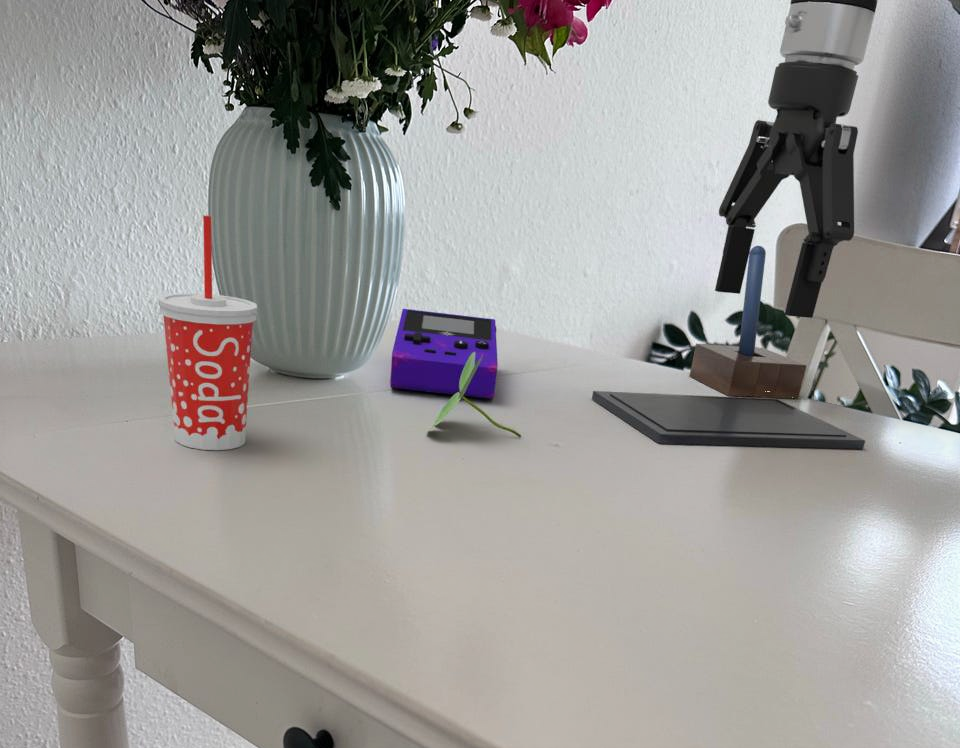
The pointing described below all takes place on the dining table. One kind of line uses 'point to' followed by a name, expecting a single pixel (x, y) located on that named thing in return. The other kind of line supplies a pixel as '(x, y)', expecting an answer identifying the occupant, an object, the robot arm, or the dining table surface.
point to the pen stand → (747, 372)
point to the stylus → (752, 301)
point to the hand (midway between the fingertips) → (760, 304)
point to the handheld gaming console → (443, 353)
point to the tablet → (724, 421)
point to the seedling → (463, 385)
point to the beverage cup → (208, 362)
